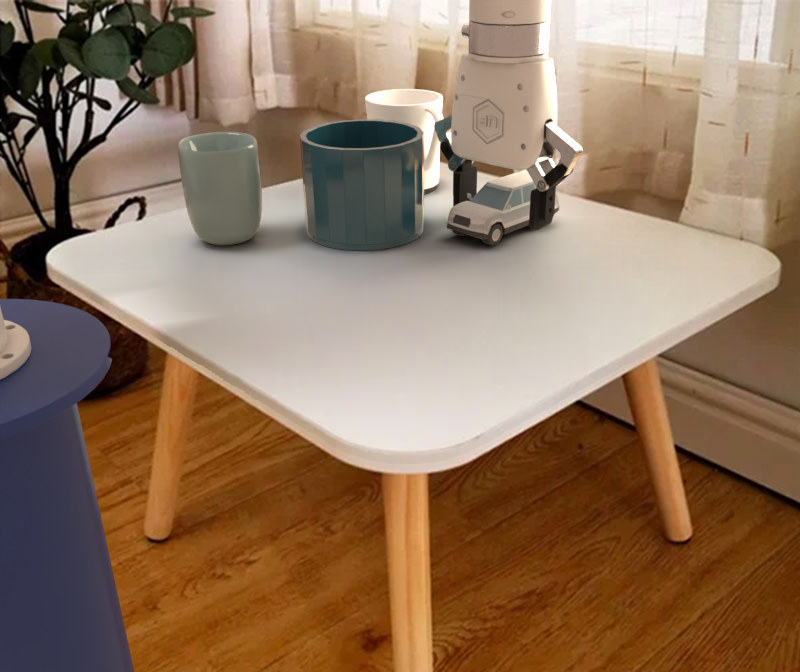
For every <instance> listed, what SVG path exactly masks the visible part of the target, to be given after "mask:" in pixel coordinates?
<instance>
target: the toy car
mask: <svg viewBox="0 0 800 672" xmlns="http://www.w3.org/2000/svg"><path fill="white" fill-rule="evenodd" d="M536 188H537V187H536V185H535V184H534V182H533V180H532V178H531V177H530V175H529V173H528V171H527V169H524V170H519V171H517V172H513V173H511V174H507V175H504V176H501V177H499V178H495V179H492V180H489V181H487V182H486V183H485V184H484V185H483V186H482V187H481V188H480V189H479V190H478V191H477V194H476V195H475V196H474V197H473V198H471V194H469V193H468V194H467V198H469V199H470V201H465V202H461V203H459V204H457V205H455V206H453V205H452V206H451V208H450V210H449V213H448V217H447V222H446V229H448V230H450V231H451V232H452V233H453V234H454V235H457V236H460V237H465V236H470V237H474V238H476V239H480V240H481V242H483V243H484V244H485V245H489V246H497V245H498V244H499V243H500V241H501V240H502V238H503V235H507V234H510V233H512V232H515V231H517V230H520V229H522V228H526V227H529V214H530V196H531V191H532V190H534V189H536ZM559 211H560V201H559V195H558V189H557V188H556V195H555V209H554V215H555V214H556V213H558V212H559Z"/></svg>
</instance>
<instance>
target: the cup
mask: <svg viewBox="0 0 800 672" xmlns="http://www.w3.org/2000/svg"><path fill="white" fill-rule="evenodd" d="M177 154H178V163H179V171H180V178H181V185H182V191H183V197H184V203H185V207H186V211H187V215H188V220H189V222H190V225H191V227H192V229H193V230H194V232H195V234H196V235H197V236H198V237H199V238H200V239H201V240H202V241H204V242H205V243H208V244H211V245H214V246H233V245H238V244H242V243H245V242H247V241H249V240H250V239H252V238H253V237H254V236H255V235H256V234H257V232H258V230H259V228H260V225H261V220H262V215H263V185H262V184H263V183H262V173H261V172H262V171H261V161H260V152H259V145H258V141H257V139H256V137H255V136H253V135H252V134H249V133H245V132H238V131H217V132H207V133H206V132H205V133H200V134H194V135H190V136H187V137H184V138H182V139H181V140H179V142H178V144H177Z"/></svg>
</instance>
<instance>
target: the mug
mask: <svg viewBox="0 0 800 672" xmlns="http://www.w3.org/2000/svg"><path fill="white" fill-rule="evenodd" d="M364 101H365V102H364V103H365V111H366V119H378V120H390V121H398V122H403V123H408V124H412V125H414V126H417V127H419V128H420V129H421V130H422V131H423V132H424V195H426V194H429V193H432V192H434V191H436V190H437V189H438V186H439V184H440V164H441V163H440V162H441V158H440V157H441V149H440V144H441V142H439V140H438V137H437V134H436V131H435V128H434V124H435V123H436V122H438V121H440V120H442V119H444V118H445V117H444V115H443V105H444V103H443V102H444V96H443V94H442V93H440V92H437V91H433V90H429V89H420V88H419V89H418V88H395V89H394V88H393V89H384V90H378V91H374V92H371V93H368V94H367V95H365V96H364Z"/></svg>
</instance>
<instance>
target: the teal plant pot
mask: <svg viewBox="0 0 800 672" xmlns="http://www.w3.org/2000/svg"><path fill="white" fill-rule="evenodd" d="M299 144H300V158H301V159H300V160H301V161H300V162H301V174H302V187H303V188H302V190H303V203H304V217H305V219H304V220H305V227H306V234H307V237H308V238H309V239H310V240H311V241H312V242H314V243H316V244H318V245H321V246H323V247H327V248H331V249H337V250H343V251H378V250H385V249H391V248H396V247H399V246H403V245H406V244H409V243H412V242H413V241H416V240H417V239H418V238H420V237H421V235H422V234H423V232H424V224H425V194H424V132H423V131H422V130H421V129H420V128H419V127H417V126H414V125H412V124H408V123H403V122H398V121H390V120H378V119H367V118H366V119H365V118H361V119H347V120H337V121H331V122H324V123H322V124H317V125H313V126H311V127H308V128H307V129H305V130H303V131H302V132H301V133H300V135H299Z"/></svg>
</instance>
